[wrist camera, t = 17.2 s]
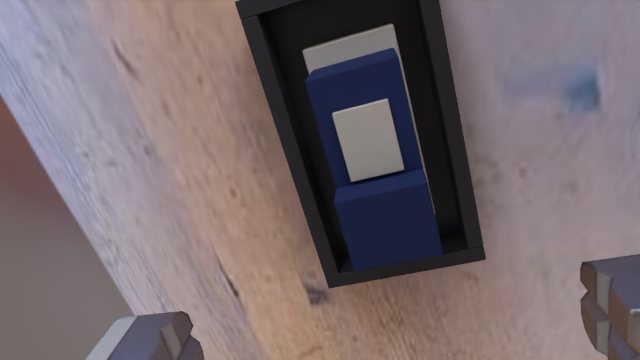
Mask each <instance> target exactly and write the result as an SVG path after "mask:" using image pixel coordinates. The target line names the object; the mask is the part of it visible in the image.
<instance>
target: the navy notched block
mask: <svg viewBox="0 0 640 360" xmlns="http://www.w3.org/2000/svg"><path fill="white" fill-rule="evenodd" d="M303 55H304V59H305V62H306V66H307V69H308V72H309V76H308V78H307V79H306V80H305V86H306V89H307V92H308V96H309V99H310V102H311V106H312V109H313V113H314V116H315V119H316V123H317V126H318V129H319V133H320V136H321V139H322V143H323V146H324V149H325V153H326V156H327V159H328V163H329V166H330V169H331V173H332V176H333V180H334V183H335V186H336V193H335V199H334V206H335V209H336V212H337V215H338V219H339V222H340V225H341V229H342V232H343V235H344V238H345V242H346V245H347V248H348V252H349V255H350V258H351V261H352V265H353V268H354V271H355V272H357V271H363V270H368V269H373V268H378V267H384V266H389V265H394V264H399V263H404V262H410V261H415V260H420V259H425V258H431V257H436V256H441V255H443V250H442V245H441V241H440V236H439V232H438V227H437V223H436V218H435V210H434V205H433V201H432V196H431V192H430V187H429V183H428V178H427V174H426V169H425V165H424V160H423V156H422V151H421V147H420V142H419V138H418V133H417V128H416V124H415V119H414V115H413V110H412V106H411V101H410V97H409V92H408V88H407V83H406V79H405V74H404V70H403V65H402V60H401V56H400V51H399V47H398V42H397V38H396V33H395V29H394V25H393V24H392V23H388V24H385V25H381V26H378V27H374V28H371V29H368V30H364V31H361V32H357V33H354V34H351V35H347V36H344V37H340V38H337V39H334V40H330V41H327V42H323V43H320V44H317V45H313V46H310V47H306V48H305V49H304V50H303Z"/></svg>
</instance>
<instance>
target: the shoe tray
mask: <svg viewBox="0 0 640 360" xmlns="http://www.w3.org/2000/svg"><path fill="white" fill-rule="evenodd" d="M235 4H236V7H237V10H238V13H239V16H240V19H241V22H242V25H243V28H244V31H245V34H246V37H247V40H248V43H249V46H250V49H251V52H252V55H253V58H254V61H255V64H256V67H257V70H258V74H259V77H260V80H261V83H262V86H263V89H264V92H265V95H266V98H267V101H268V104H269V107H270V110H271V113H272V116H273V119H274V122H275V125H276V128H277V131H278V134H279V138H280V141H281V144H282V147H283V150H284V153H285V156H286V159H287V162H288V165H289V168H290V171H291V174H292V177H293V180H294V183H295V186H296V189H297V192H298V195H299V198H300V201H301V205H302V208H303V211H304V214H305V217H306V220H307V223H308V226H309V229H310V232H311V235H312V238H313V241H314V244H315V247H316V250H317V253H318V256H319V259H320V262H321V265H322V268H323V272H324V275H325V278H326V281H327V284H328V287H329V288H334V287H339V286H345V285H350V284H355V283H361V282H366V281H372V280H377V279H383V278H388V277H394V276H399V275H405V274H410V273H415V272H421V271H426V270H432V269H437V268H443V267H448V266H454V265H459V264H465V263H470V262H476V261H481V260H485V259H486V257H485V252H484V247H483V241H482V236H481V230H480V225H479V219H478V214H477V208H476V203H475V197H474V192H473V186H472V181H471V175H470V170H469V164H468V158H467V153H466V147H465V142H464V136H463V131H462V125H461V120H460V114H459V109H458V103H457V98H456V92H455V87H454V81H453V76H452V70H451V65H450V59H449V54H448V48H447V43H446V37H445V31H444V26H443V20H442V15H441V9H440V4H439V0H239V1H236V2H235ZM388 23H392V24H393V25H394V29H395V33H396V38H397V42H398V47H399V51H400V56H401V60H402V65H403V70H404V74H405V79H406V83H407V88H408V92H409V97H410V101H411V106H412V110H413V115H414V119H415V124H416V128H417V133H418V138H419V142H420V147H421V151H422V156H423V160H424V165H425V169H426V174H427V178H428V183H429V187H430V192H431V196H432V201H433V205H434V210H435V218H436V223H437V227H438V232H439V236H440V241H441V245H442V250H443V255H441V256H436V257H431V258H425V259H420V260H415V261H410V262H404V263H399V264H394V265H389V266H384V267H378V268H373V269H368V270H363V271H357V272H355V271H354V268H353V265H352V261H351V258H350V255H349V252H348V248H347V245H346V242H345V238H344V235H343V232H342V229H341V225H340V222H339V219H338V215H337V212H336V209H335V206H334V199H335V193H336V186H335V183H334V180H333V176H332V173H331V169H330V166H329V163H328V159H327V156H326V153H325V149H324V146H323V143H322V139H321V136H320V133H319V129H318V126H317V123H316V119H315V116H314V113H313V109H312V106H311V102H310V99H309V96H308V92H307V89H306V86H305V80H306V79H307V78H308V76H309V72H308V69H307V66H306V62H305V59H304V55H303V50H304V49H305V48H306V47H310V46H313V45H317V44H320V43H323V42H327V41H330V40H334V39H337V38H340V37H344V36H347V35H351V34H354V33H357V32H361V31H364V30H368V29H371V28H374V27H378V26H381V25H385V24H388Z"/></svg>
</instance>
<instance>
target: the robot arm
mask: <svg viewBox="0 0 640 360" xmlns="http://www.w3.org/2000/svg"><path fill="white" fill-rule="evenodd" d="M580 281H581V282H582V284H583V285H584V286H585V288H586V289H587V292H586V294H585V295H584V296H583V297H582V299H581V316H582V320H583V324H584V328H585V330H586V333H587V335H588V337H589V340H590V341H591V343H592V344H593V346H594V348H595V349H596V350H597V351H599V352H601V353H603V354H604V355H606V356H608V360H640V254H637V255H630V256H623V257H615V258H608V259H601V260H593V261H586V262H582V265H581V268H580ZM192 328H193V324H192V322H191V320H190V318H189V315H188V314H187V313H185V312H183V311H178V312H168V313H159V314H149V315H142V316H131V317H123V318H120V319H118V320H116V321H115V322H114V324H113V325H112V326H111V327H110V329H109V330H108V331H107V332H106V334H105V335H104V336H103V338H102V339H101V340H100V341H99V343H98V344H97V345H96V347H95V348H94V349H93V351H92V352H91V353H90V354H89V356H88V357H87V358H86V360H204V355H203V350H202V347H201V345H200V342H199V341H197V340H196V339H195V338H193V337H192V336H191V335H190V333H191V331H192Z"/></svg>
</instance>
